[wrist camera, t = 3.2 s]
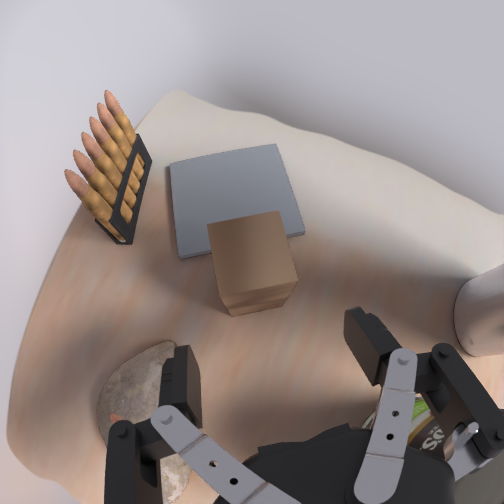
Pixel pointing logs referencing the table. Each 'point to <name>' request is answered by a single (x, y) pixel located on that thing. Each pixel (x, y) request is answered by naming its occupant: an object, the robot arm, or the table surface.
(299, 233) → the slate mat
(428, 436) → the coffee can
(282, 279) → the walnut block
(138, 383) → the rock
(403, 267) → the table surface
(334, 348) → the table surface
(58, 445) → the table surface
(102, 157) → the ammunition clip
